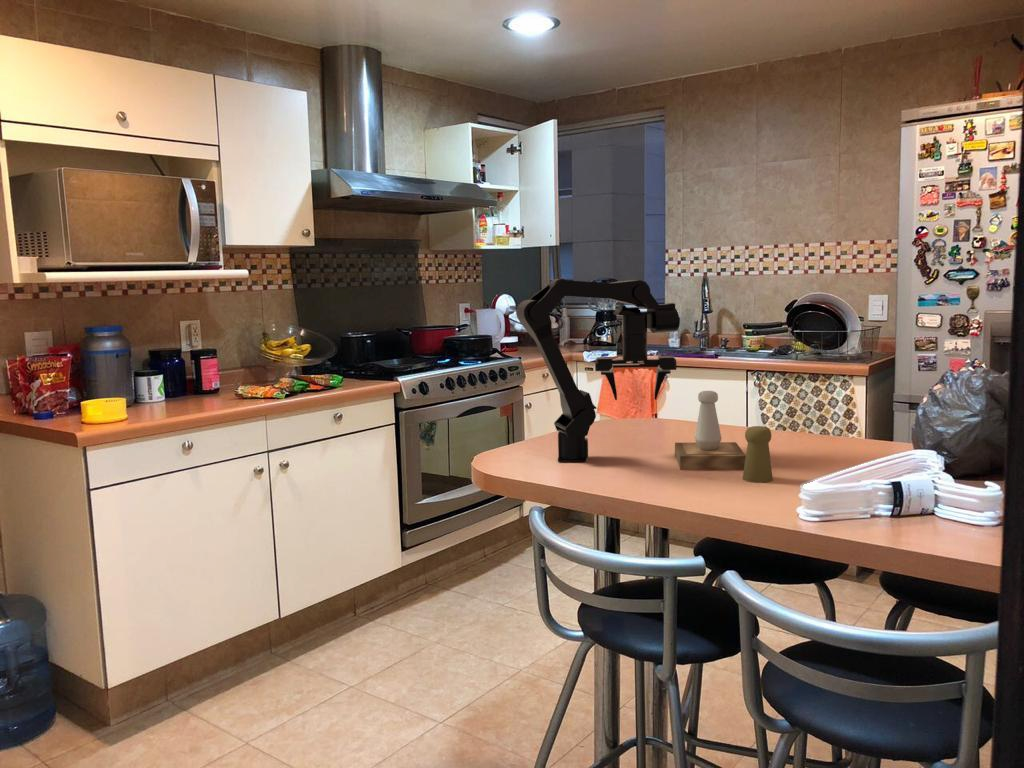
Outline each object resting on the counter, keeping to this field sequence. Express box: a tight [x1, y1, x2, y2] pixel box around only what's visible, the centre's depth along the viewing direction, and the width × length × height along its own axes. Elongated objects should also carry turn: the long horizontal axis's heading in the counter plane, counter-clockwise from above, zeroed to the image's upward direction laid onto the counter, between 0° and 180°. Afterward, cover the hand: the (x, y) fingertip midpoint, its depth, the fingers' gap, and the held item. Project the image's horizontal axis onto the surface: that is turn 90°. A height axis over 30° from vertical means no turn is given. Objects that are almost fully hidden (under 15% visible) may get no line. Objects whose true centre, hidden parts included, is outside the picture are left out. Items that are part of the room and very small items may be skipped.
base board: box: [674, 441, 746, 471], centre depth 184 cm, size 14×14×3 cm
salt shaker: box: [694, 390, 722, 450], centre depth 182 cm, size 6×6×13 cm
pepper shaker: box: [742, 425, 774, 484], centre depth 167 cm, size 6×6×11 cm
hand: (635, 399), depth 193 cm, fingers open, 9 cm apart
